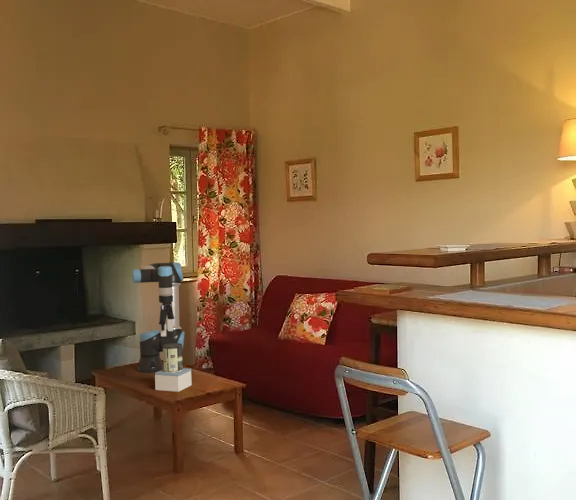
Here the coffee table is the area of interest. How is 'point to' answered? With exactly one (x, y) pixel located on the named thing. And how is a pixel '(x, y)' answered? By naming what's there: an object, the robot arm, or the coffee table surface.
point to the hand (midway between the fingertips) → (167, 333)
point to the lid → (173, 373)
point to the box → (173, 382)
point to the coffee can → (172, 357)
